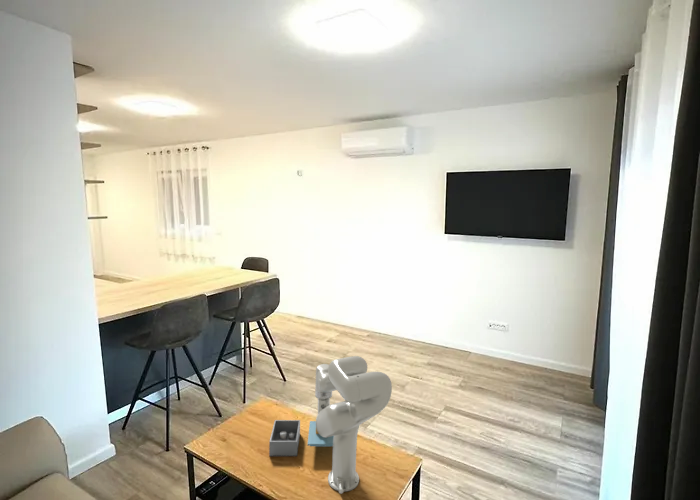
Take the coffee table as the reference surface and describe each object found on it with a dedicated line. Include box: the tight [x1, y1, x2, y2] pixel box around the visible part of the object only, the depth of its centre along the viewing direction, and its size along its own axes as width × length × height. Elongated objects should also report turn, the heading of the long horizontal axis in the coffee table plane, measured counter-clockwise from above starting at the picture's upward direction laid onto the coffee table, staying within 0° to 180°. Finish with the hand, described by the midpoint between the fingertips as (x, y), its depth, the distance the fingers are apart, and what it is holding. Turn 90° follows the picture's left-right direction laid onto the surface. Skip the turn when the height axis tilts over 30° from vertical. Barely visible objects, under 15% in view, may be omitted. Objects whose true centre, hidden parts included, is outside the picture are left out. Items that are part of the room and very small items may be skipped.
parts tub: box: [268, 419, 301, 457], centre depth 173 cm, size 16×12×7 cm
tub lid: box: [307, 420, 334, 448], centre depth 172 cm, size 16×12×6 cm
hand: (322, 429), depth 172 cm, fingers closed on tub lid
